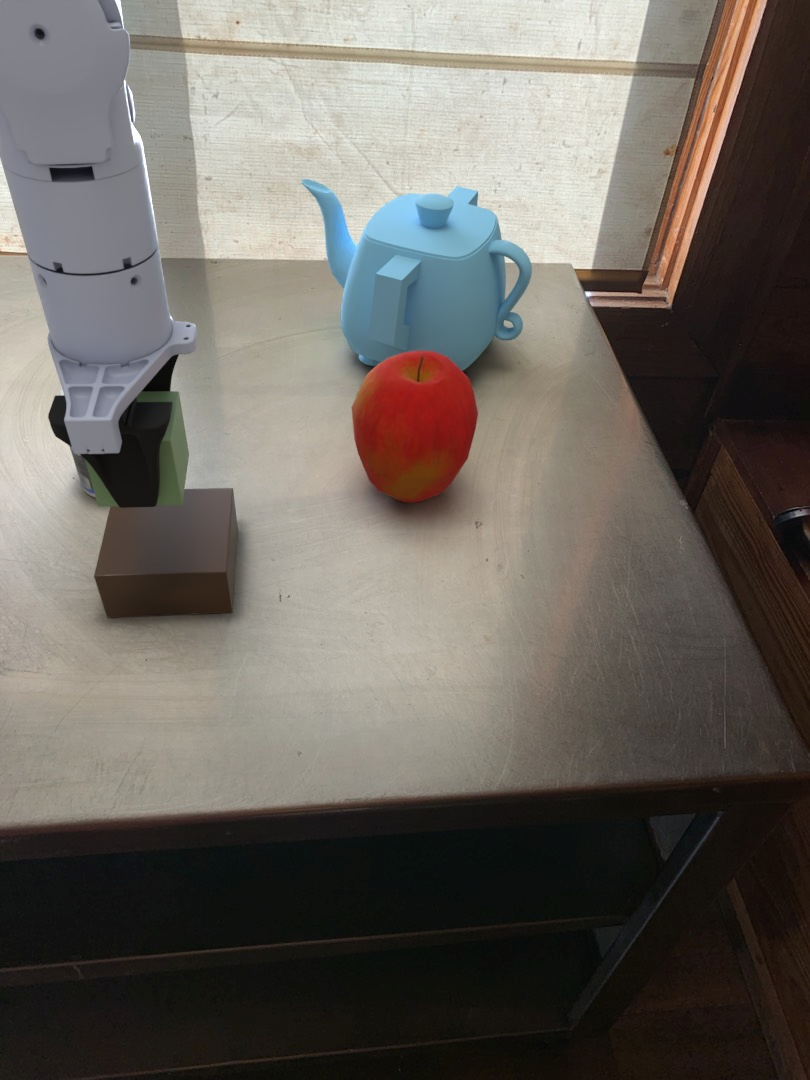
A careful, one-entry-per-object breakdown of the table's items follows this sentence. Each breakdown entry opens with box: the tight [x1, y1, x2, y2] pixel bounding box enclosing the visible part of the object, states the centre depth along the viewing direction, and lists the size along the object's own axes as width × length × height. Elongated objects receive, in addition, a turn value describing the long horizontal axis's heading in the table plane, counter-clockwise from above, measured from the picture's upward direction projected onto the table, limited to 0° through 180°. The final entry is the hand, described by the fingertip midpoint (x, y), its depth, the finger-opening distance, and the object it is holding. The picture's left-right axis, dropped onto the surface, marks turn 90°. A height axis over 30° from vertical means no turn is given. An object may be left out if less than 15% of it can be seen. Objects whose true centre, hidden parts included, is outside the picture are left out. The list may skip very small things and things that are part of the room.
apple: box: [351, 351, 479, 504], centre depth 58 cm, size 9×9×12 cm
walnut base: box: [93, 487, 239, 618], centre depth 53 cm, size 8×8×4 cm
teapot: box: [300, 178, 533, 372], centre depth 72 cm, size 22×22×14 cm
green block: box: [85, 390, 190, 508], centre depth 44 cm, size 5×5×5 cm
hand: (143, 473), depth 46 cm, fingers closed on green block, 4 cm apart
